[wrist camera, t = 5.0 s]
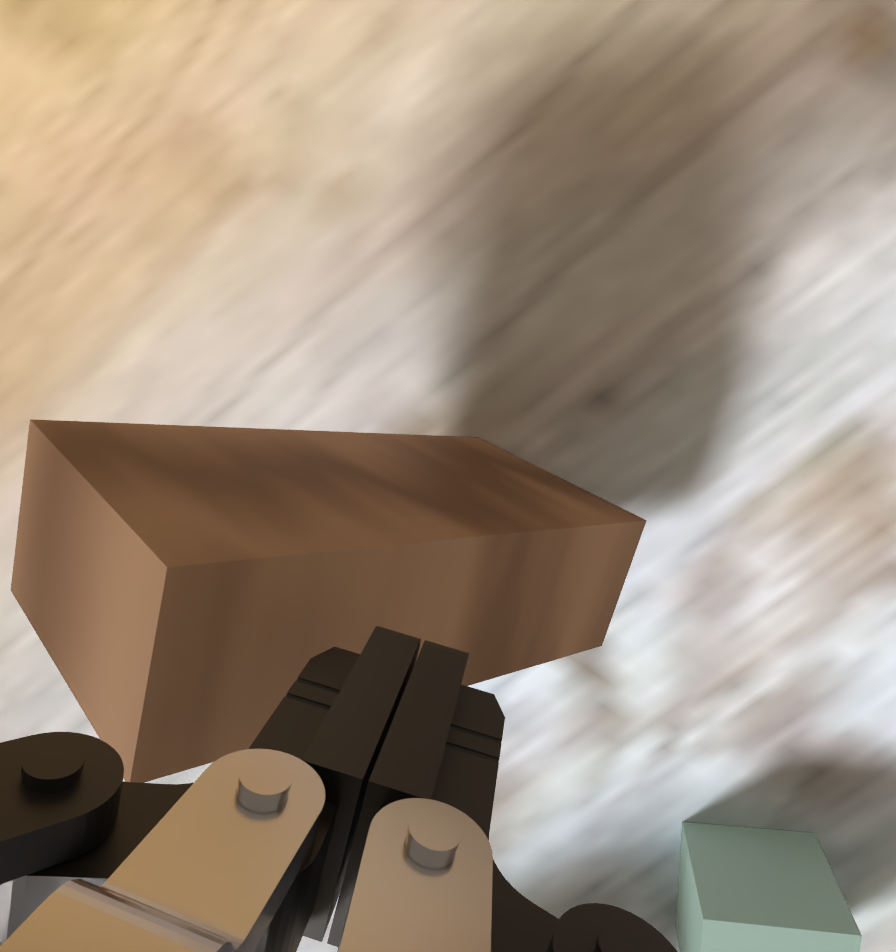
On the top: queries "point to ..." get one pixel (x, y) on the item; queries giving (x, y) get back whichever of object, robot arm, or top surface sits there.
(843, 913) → the pale green block
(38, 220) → the top surface
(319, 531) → the walnut block
